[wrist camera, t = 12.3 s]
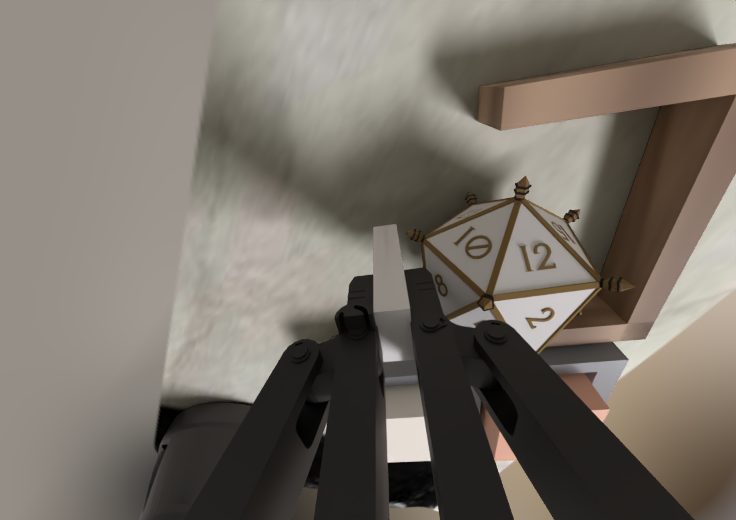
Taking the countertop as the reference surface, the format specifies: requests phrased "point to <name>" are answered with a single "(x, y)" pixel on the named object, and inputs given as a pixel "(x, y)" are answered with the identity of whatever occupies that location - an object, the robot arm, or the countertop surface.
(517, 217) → the game die
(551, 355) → the key panel
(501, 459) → the terracotta key
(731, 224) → the countertop surface
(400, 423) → the ivory key
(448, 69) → the countertop surface
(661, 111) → the walnut bracket
